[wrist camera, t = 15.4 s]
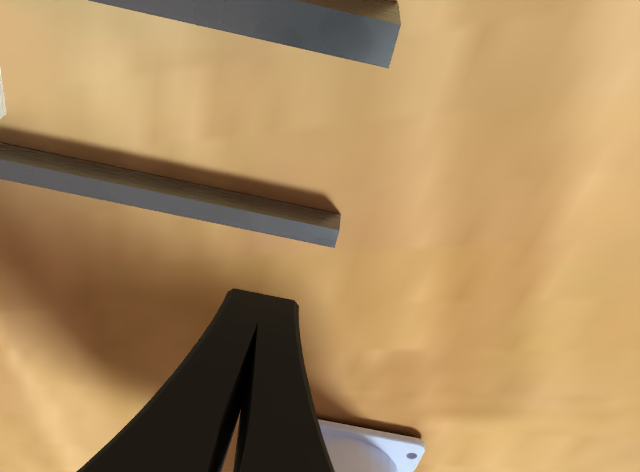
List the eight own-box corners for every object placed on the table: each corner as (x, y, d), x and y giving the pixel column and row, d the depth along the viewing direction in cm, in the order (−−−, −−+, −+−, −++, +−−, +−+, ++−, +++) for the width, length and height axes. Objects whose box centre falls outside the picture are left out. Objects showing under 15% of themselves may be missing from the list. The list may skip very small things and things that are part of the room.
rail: (335, 231, 22) (331, 284, 20) (-142, 131, 21) (-209, 175, 19) (398, 3, 17) (402, 37, 15) (-225, -143, 16) (-331, -132, 14)
